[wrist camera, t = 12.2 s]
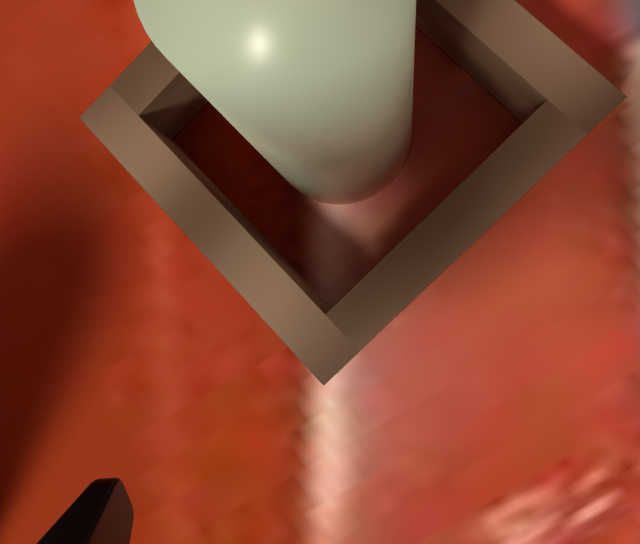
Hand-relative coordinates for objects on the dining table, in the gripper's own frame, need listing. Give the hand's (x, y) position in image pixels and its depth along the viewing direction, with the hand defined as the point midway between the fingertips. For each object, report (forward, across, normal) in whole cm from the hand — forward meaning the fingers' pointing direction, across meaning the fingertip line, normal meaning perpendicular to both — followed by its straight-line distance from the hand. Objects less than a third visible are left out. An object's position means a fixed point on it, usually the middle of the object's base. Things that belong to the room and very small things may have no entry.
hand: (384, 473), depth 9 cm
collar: (+13, 0, -2) cm, 13 cm away
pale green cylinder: (+13, 0, -2) cm, 13 cm away
